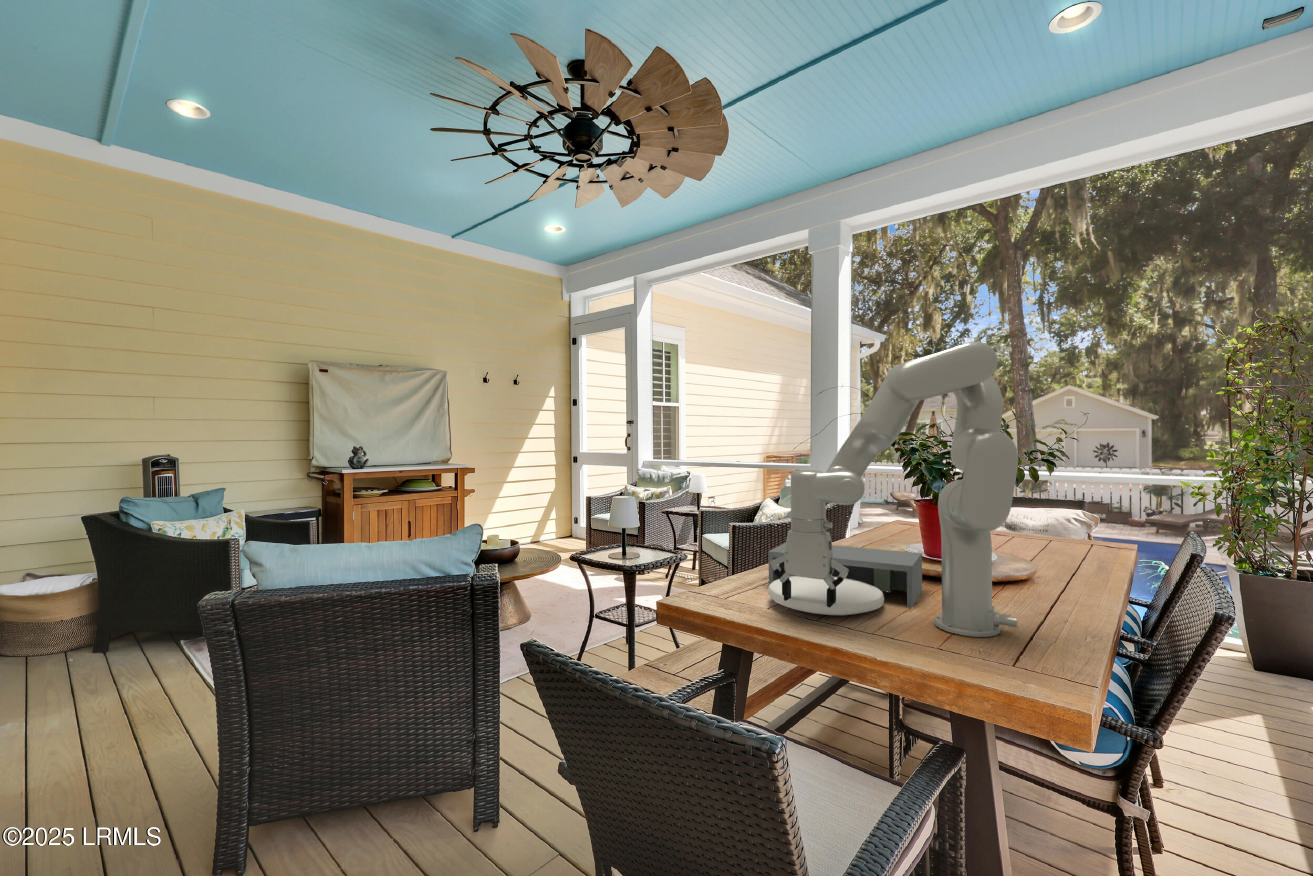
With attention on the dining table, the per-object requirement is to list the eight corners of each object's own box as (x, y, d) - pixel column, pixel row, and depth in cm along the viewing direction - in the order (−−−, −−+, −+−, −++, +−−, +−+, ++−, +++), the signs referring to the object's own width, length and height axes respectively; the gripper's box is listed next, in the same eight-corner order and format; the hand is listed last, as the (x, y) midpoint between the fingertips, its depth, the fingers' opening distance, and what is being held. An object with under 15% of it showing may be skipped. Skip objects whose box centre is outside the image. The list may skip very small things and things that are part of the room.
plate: (798, 567, 162) (898, 582, 145) (797, 591, 161) (898, 609, 145) (748, 577, 140) (859, 597, 123) (747, 605, 140) (858, 628, 123)
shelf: (922, 591, 153) (921, 553, 153) (912, 607, 139) (912, 566, 139) (788, 575, 172) (788, 541, 172) (768, 588, 158) (768, 551, 158)
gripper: (852, 526, 128) (852, 604, 129) (776, 520, 137) (777, 592, 138) (843, 531, 122) (843, 613, 122) (765, 525, 131) (765, 601, 131)
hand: (808, 602), depth 130 cm, fingers open, 9 cm apart
